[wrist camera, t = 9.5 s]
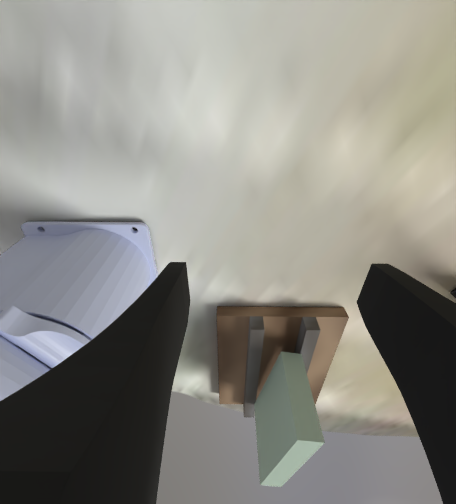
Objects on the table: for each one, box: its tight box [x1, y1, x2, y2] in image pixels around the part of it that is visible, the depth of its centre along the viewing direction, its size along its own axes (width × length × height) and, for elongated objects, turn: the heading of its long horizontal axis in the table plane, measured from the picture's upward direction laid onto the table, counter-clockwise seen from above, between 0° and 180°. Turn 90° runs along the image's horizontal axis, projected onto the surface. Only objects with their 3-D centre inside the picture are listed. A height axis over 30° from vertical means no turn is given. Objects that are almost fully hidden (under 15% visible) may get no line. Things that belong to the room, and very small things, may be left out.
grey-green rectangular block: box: [254, 352, 325, 487], centre depth 23 cm, size 2×10×7 cm, turn 169°
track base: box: [217, 306, 349, 417], centre depth 27 cm, size 12×16×3 cm
